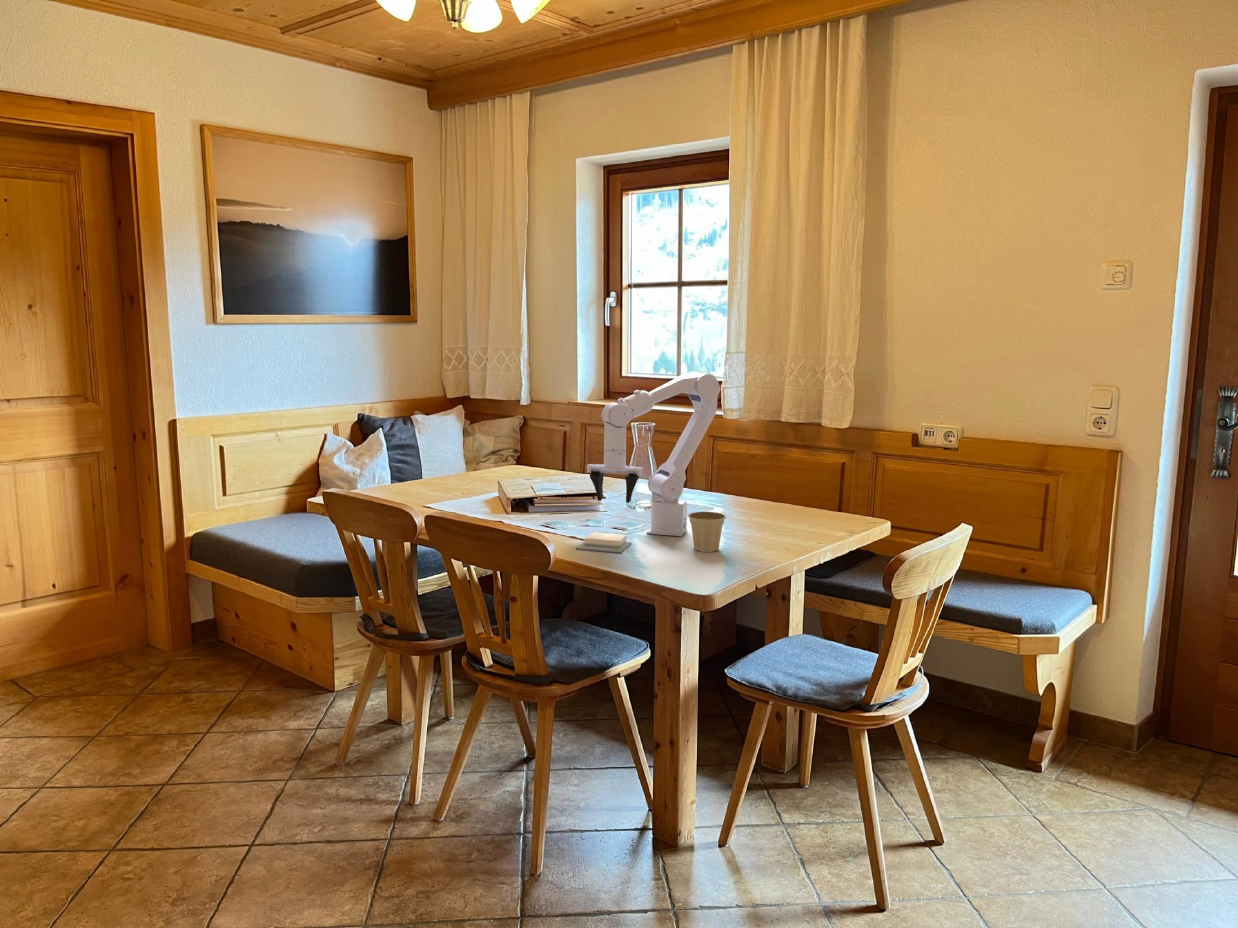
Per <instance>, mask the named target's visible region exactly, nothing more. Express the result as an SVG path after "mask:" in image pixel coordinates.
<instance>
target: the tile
mask: <svg viewBox="0 0 1238 928" xmlns="http://www.w3.org/2000/svg"><path fill="white" fill-rule="evenodd" d="M584 542H585V544H587V545H598V546H610V547H620V546H622V545H623V544H624V543H625V542H627V534H617V533H607V532H606V533H605V532H594V531H593V532H592V533H590V534H588V535H587V536H586V537H584Z"/></svg>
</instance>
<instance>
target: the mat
mask: <svg viewBox="0 0 1238 928" xmlns="http://www.w3.org/2000/svg"><path fill="white" fill-rule="evenodd" d="M631 545H632V542H631V541H626V542H625V543H624V544H623V545H622V546H620V547H610V546H598V545H587V544H585V541H583V542H582V543H580V544H579V545H578V546H576V548H575V549H576V550H580V551H589V552H590V551H592V552H601V553H613V554H614V553H615V554H622V553H623V552H624V551H625V550H627V548H629V547H630V546H631Z"/></svg>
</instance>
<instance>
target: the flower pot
mask: <svg viewBox="0 0 1238 928" xmlns="http://www.w3.org/2000/svg"><path fill="white" fill-rule="evenodd" d="M687 518H688V519H689V523H690V526H691V533H692V543H693V549H694V550H695V551H700V552H702V553H713V552H715V551H718V550H719V549H720V544H721V543H720V542H721V537H722V529H723V525H724V523H725V519H726V518H727V516H726V515H725V514H724V513H721V512H716V511H694V512H690V513H689V514H688V513H687Z"/></svg>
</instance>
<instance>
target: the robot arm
mask: <svg viewBox="0 0 1238 928" xmlns="http://www.w3.org/2000/svg"><path fill="white" fill-rule="evenodd" d="M720 391H721V387H720V383H719V381H718V379H717V377H716V376H715V375H713V374H711V373H700V372H698V371H690V372H688V373H686V374H681V375H679V376H678V377H676V378H674V379H672V380H670V381H668V382H666V383H664V384H662V385H661V386H658V387H656V388H655V389H653V390H650V391H649V392H648V391H646V390H640V389H636V390H634V391H633V394H631V395H628V396H626V397H623V398H622V397H619V398H618V399H617V403H616V402H609V403H606V405H604V407H603V408H602V412H600V418H601V420H602V422H603V423H604V426H603V427H604V429H603V431H604V432H603V464H599V463H598V464H597V463H595V464H594V463H589V464H587V465H586V473H590V474H589V478H590V480H591V483H592V485H593V487H594V489H595V492H596V498H597V501H598V502H599V501H600V502H601V501H602V500H603V499H604V494H603V493H604V489H603V488H604V487H603V486H604V485H603V484H604V477H605V474H610V475H611V474H612V475H613V474H614V475H626V476H624V477H625V486H626V487H625V490H626V491H625V492H626V493H625V503H626V504H629V503H631V501H632V496H633V492H634V489H635V486H636V485H637V482H638V480H639V478H640V477H642V476H643V473H644V472H643V471H644V468H643V467H640V466H634V465H633V466H632V465H627V463H626V462H627V426H628V424H629V423H630V421H631V420H634V419H635V418H638V417H639V416H642V415H644V414H646V413H649V412H651V411H652V410H653V408H654V406H655V404H656V403H660V402H663V401H665V400H667V399H669V398H672V397H675V396H677V395H680V394H684V395H685V394H686V396H688V398H689V399H690V401H691V403H692V407H693V409H694V410H693V413H692V415H691V417H690V418H689V420H688V422H687V423H686V425H685V427H684V429H683V431H682V433H681V435H680V437H679V438H678V440H677V442H676V443H675V446H674V448H673V449H672V451H671V453H670V455H669V457H668V458H667V459H666V460H667V461H665V462H664V463H662V464H661V465H660V466H658V467H657V470H656V471H655V472H654V473H652V474H651V475H650V476H649V479H648V481H647V487H648V490H649V491H650V493H651V499H650V502H651V503H650V505H651V507H650V509H651V510H650V528H649V529H647V530H646V534H650V535H658V536H659V535H660V536H661V535H662V536H672V537H673V536H674V537H683V535H685V533H686V531H687V530H688V528H687V526H688V525H687V523H688V521H687V520H688V503H687V501H685V500H680V497H682V494H683V491H684V484H685V481H686V480H687V476H686V469H687V467H688V466H689V464H690V462H691V460H692V458H693V457H694V455H695V452H696V451H697V449H698V448H699V446H700V444H701V441H702V440H703V438H704V437H705V434H706V433H707V430H708V429H709V428H710V427H709V426H710V425H711V423H712V422H713V420H714V418H715V416H716V413H717V411H718V410H717V409H718V408H717V407H718V398H719V397H718V396H719V394H720Z"/></svg>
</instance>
